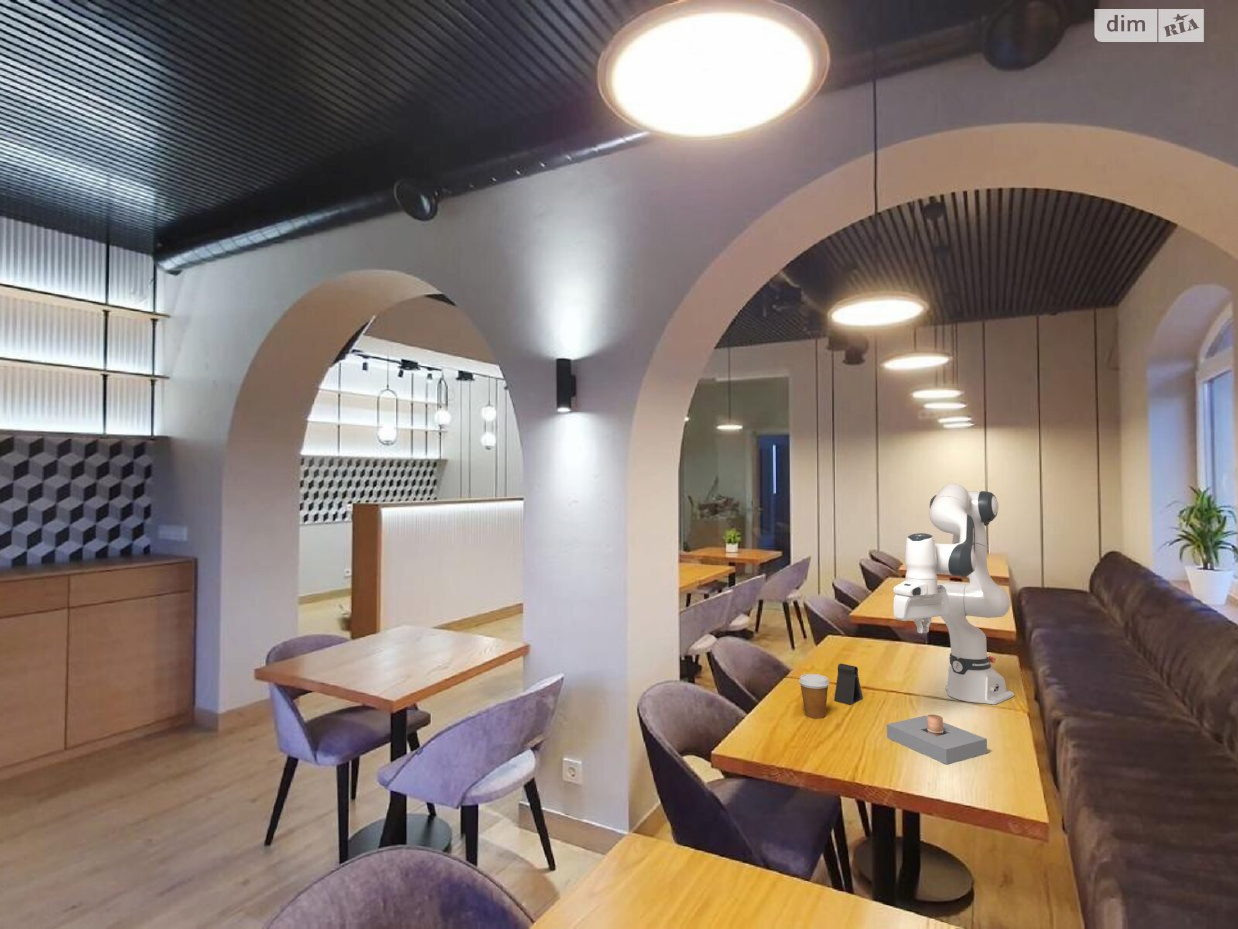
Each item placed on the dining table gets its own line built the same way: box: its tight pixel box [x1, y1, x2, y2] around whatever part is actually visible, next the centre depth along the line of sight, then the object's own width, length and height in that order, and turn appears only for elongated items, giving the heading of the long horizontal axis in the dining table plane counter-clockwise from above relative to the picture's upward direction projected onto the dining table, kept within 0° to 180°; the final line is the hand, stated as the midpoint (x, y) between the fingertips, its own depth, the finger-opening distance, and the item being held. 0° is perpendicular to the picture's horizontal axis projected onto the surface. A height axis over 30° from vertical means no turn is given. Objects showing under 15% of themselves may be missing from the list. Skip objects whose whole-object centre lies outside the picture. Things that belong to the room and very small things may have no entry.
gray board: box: [886, 714, 988, 766], centre depth 182 cm, size 16×20×4 cm
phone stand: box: [833, 663, 864, 706], centre depth 221 cm, size 9×6×12 cm, turn 133°
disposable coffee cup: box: [798, 673, 830, 719], centre depth 207 cm, size 10×10×12 cm
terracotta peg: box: [926, 714, 944, 736], centre depth 182 cm, size 4×4×8 cm
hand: (923, 632), depth 195 cm, fingers closed
